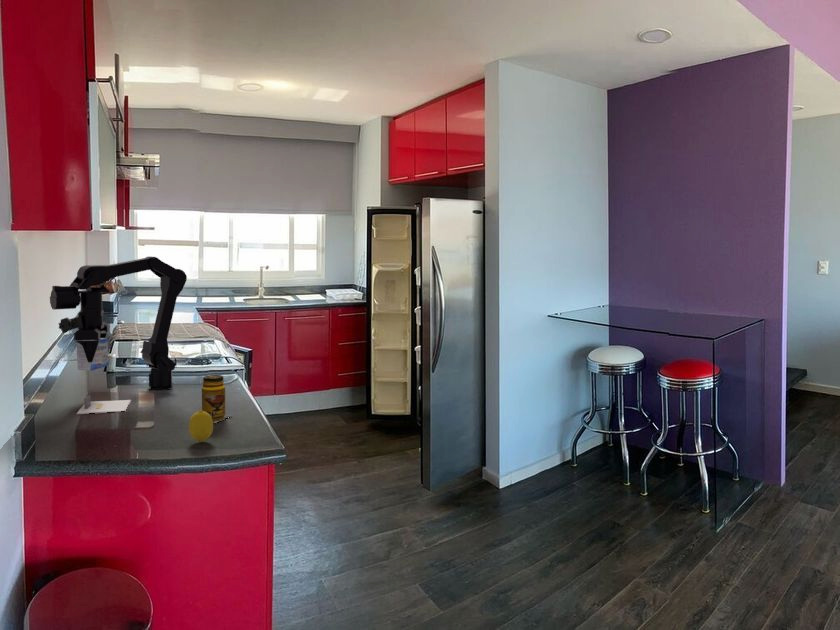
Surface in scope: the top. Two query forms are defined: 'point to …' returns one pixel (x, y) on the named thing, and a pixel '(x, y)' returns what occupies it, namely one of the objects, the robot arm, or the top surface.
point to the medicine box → (99, 358)
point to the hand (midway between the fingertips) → (93, 359)
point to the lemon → (200, 425)
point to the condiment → (214, 397)
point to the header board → (103, 406)
